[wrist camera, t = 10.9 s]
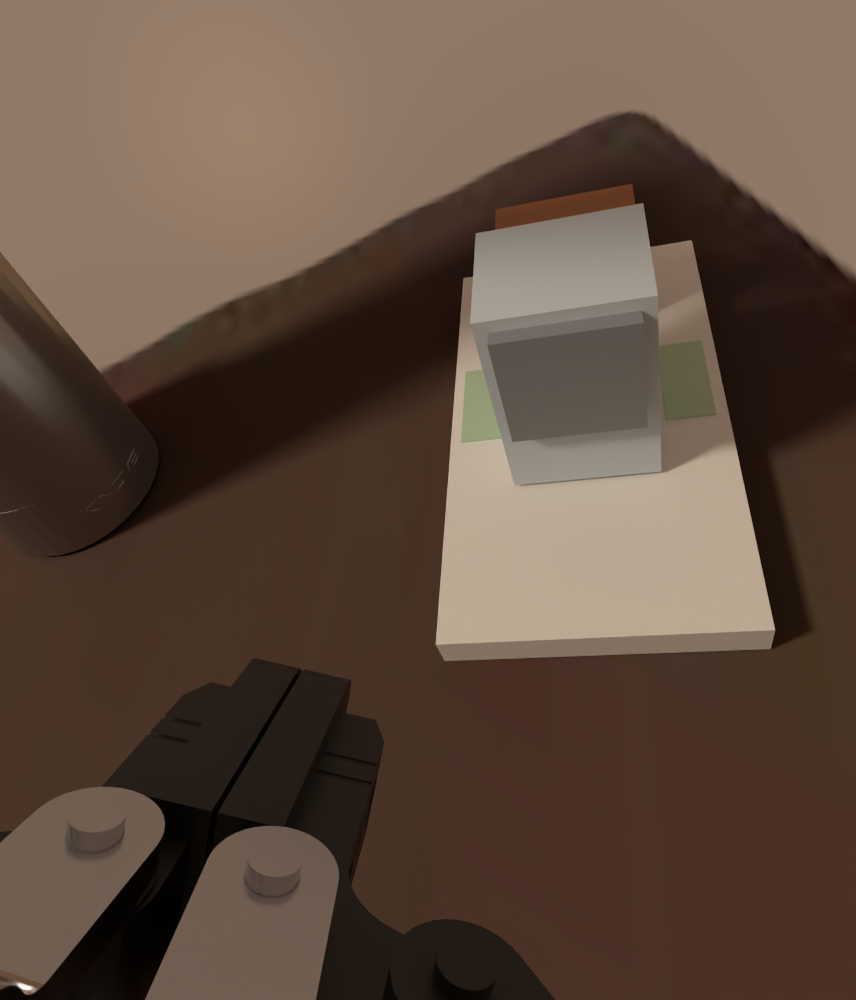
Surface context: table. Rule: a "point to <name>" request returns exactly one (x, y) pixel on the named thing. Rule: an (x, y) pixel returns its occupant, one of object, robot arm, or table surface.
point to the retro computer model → (571, 344)
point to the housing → (606, 520)
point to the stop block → (565, 206)
